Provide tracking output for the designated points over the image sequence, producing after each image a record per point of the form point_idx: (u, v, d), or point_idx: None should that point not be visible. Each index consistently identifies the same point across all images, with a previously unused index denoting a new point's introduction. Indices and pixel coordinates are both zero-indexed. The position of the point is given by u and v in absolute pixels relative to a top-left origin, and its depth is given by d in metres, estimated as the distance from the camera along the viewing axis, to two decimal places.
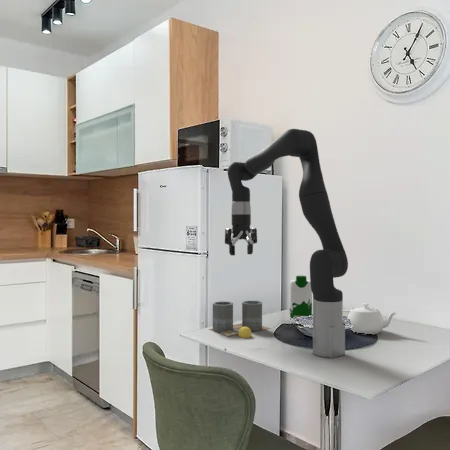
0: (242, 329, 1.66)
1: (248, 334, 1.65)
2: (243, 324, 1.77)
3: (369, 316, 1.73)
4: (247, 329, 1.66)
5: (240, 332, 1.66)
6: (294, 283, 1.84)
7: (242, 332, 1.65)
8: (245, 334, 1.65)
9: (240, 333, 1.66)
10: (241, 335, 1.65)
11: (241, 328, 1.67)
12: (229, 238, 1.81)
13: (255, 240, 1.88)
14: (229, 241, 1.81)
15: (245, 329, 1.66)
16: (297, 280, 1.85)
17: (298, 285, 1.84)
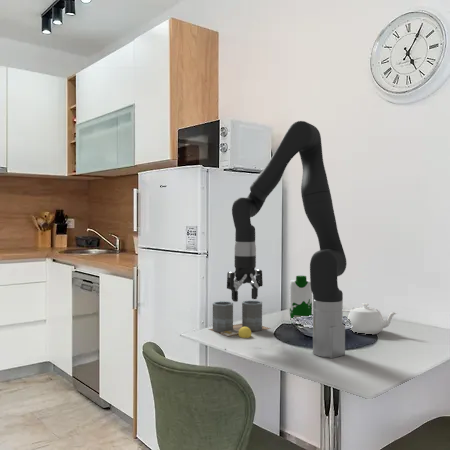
0: (242, 329, 1.66)
1: (248, 334, 1.65)
2: (243, 324, 1.77)
3: (369, 316, 1.73)
4: (247, 329, 1.66)
5: (240, 332, 1.66)
6: (294, 283, 1.84)
7: (242, 332, 1.65)
8: (245, 334, 1.65)
9: (240, 333, 1.66)
10: (241, 335, 1.65)
11: (241, 328, 1.67)
12: (232, 283, 1.62)
13: (260, 283, 1.70)
14: (232, 286, 1.62)
15: (245, 329, 1.66)
16: (297, 280, 1.85)
17: (298, 285, 1.84)
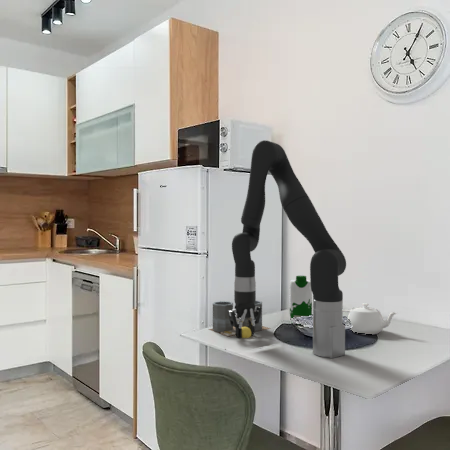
0: (242, 329, 1.66)
1: (248, 334, 1.65)
2: (243, 324, 1.77)
3: (369, 316, 1.73)
4: (247, 329, 1.66)
5: None
6: (294, 283, 1.84)
7: (242, 332, 1.65)
8: (245, 334, 1.65)
9: None
10: None
11: None
12: (234, 321, 1.63)
13: (256, 320, 1.69)
14: (236, 324, 1.63)
15: (245, 329, 1.66)
16: (297, 280, 1.85)
17: (298, 285, 1.84)
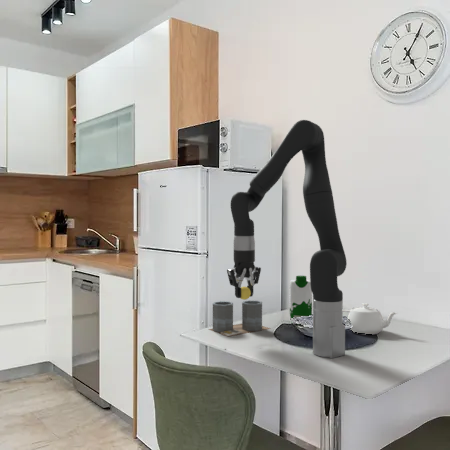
0: (241, 289, 1.66)
1: (247, 293, 1.65)
2: (243, 324, 1.77)
3: (369, 316, 1.73)
4: (246, 289, 1.66)
5: None
6: (294, 283, 1.84)
7: (241, 291, 1.65)
8: (245, 293, 1.65)
9: None
10: None
11: None
12: (234, 280, 1.63)
13: (256, 280, 1.69)
14: (235, 283, 1.63)
15: (244, 288, 1.66)
16: (297, 280, 1.85)
17: (298, 285, 1.84)
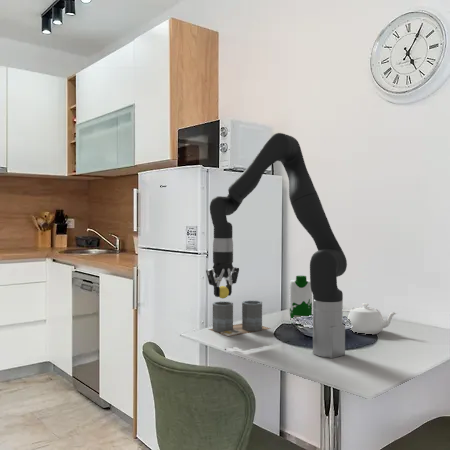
0: (220, 288, 1.75)
1: (225, 292, 1.74)
2: (243, 324, 1.77)
3: (369, 316, 1.73)
4: (225, 288, 1.75)
5: None
6: (294, 283, 1.84)
7: None
8: (223, 292, 1.74)
9: None
10: None
11: None
12: (212, 280, 1.72)
13: (234, 280, 1.78)
14: (213, 282, 1.72)
15: (223, 288, 1.75)
16: (297, 280, 1.85)
17: (298, 285, 1.84)
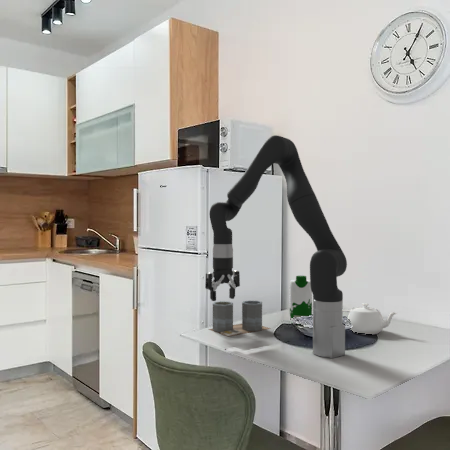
0: None
1: None
2: (243, 324, 1.77)
3: (369, 316, 1.73)
4: None
5: None
6: (294, 283, 1.84)
7: None
8: None
9: None
10: None
11: None
12: (210, 283, 1.71)
13: (237, 283, 1.79)
14: (210, 286, 1.71)
15: None
16: (297, 280, 1.85)
17: (298, 285, 1.84)
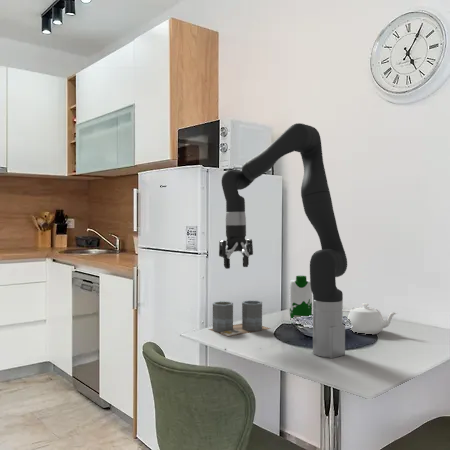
0: None
1: None
2: (243, 324, 1.77)
3: (369, 316, 1.73)
4: None
5: None
6: (294, 283, 1.84)
7: None
8: None
9: None
10: None
11: None
12: (224, 250, 1.71)
13: (251, 252, 1.79)
14: (224, 254, 1.71)
15: None
16: (297, 280, 1.85)
17: (298, 285, 1.84)
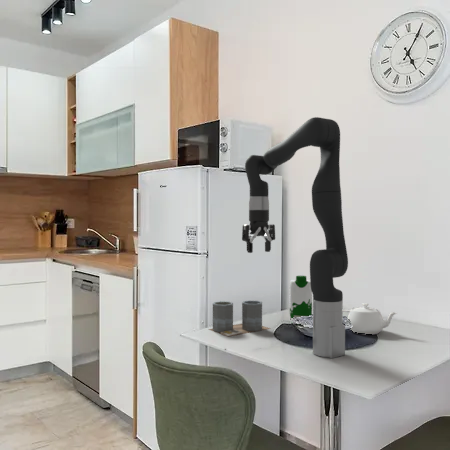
0: None
1: None
2: (243, 324, 1.77)
3: (369, 316, 1.73)
4: None
5: None
6: (294, 283, 1.84)
7: None
8: None
9: None
10: None
11: None
12: (247, 235, 1.73)
13: (273, 237, 1.80)
14: (247, 238, 1.73)
15: None
16: (297, 280, 1.85)
17: (298, 285, 1.84)
